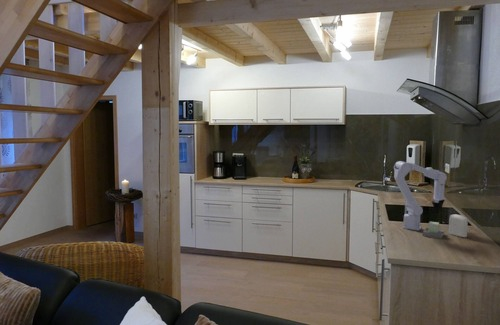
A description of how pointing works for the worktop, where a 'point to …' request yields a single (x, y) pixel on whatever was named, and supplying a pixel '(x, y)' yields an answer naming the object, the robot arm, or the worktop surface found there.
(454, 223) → the photo printer
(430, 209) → the worktop surface
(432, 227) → the green cube
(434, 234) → the grey block
